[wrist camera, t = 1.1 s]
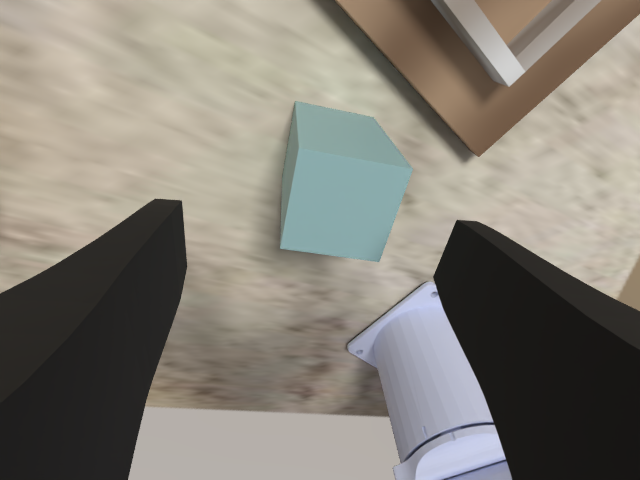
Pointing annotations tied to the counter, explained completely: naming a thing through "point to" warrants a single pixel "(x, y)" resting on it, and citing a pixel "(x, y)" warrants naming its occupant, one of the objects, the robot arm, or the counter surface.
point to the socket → (488, 52)
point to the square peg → (340, 184)
